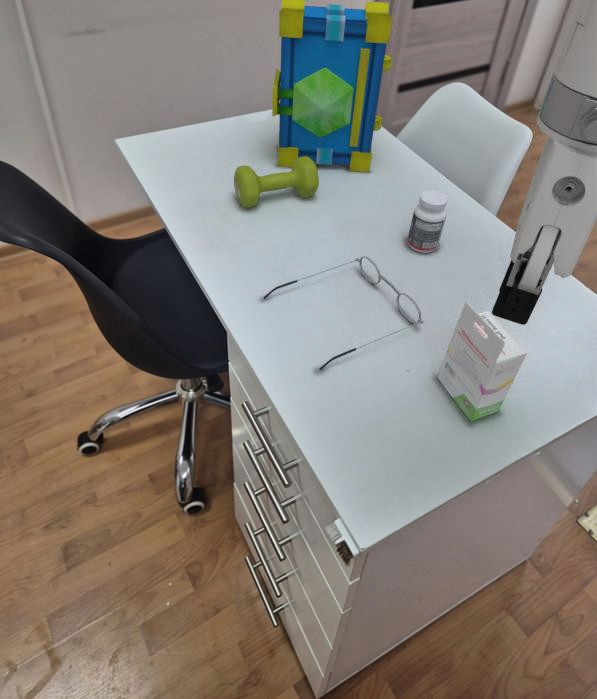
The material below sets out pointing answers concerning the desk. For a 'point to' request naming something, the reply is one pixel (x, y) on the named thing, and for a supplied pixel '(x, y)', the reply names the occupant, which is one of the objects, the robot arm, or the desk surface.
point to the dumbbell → (276, 181)
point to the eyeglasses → (373, 283)
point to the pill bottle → (428, 222)
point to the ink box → (480, 363)
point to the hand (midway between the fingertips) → (512, 305)
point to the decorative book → (330, 82)
